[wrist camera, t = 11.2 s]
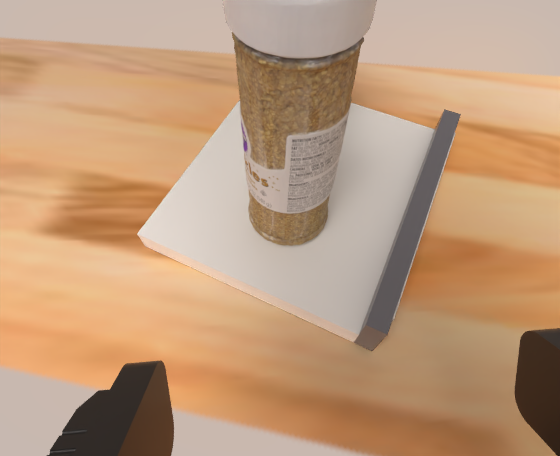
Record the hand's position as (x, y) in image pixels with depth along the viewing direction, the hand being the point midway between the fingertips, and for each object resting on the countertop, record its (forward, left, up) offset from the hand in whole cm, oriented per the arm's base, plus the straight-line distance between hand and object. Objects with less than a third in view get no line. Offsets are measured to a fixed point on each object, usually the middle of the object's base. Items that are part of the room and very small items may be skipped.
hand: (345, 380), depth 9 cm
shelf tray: (-5, +12, -11) cm, 17 cm away
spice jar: (-5, +9, -10) cm, 14 cm away
